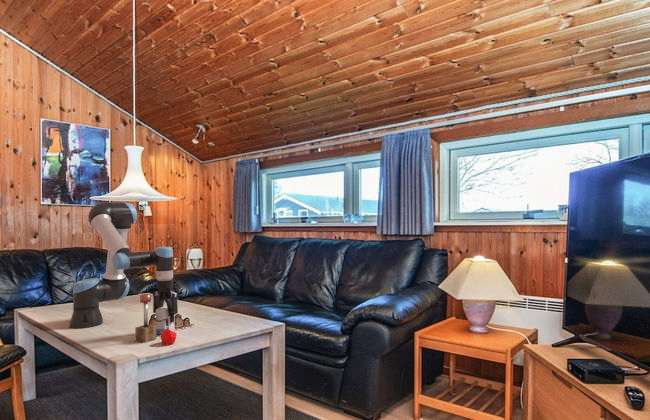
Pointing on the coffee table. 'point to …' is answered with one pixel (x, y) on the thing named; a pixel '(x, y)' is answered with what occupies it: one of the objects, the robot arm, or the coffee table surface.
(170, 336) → the apple
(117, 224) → the robot arm
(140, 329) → the awl socket
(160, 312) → the ink box
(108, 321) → the coffee table surface
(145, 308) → the awl
